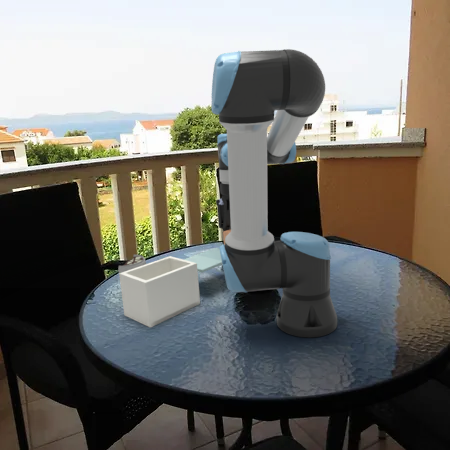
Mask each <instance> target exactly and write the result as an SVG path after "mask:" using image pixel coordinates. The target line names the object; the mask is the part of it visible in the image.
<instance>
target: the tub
mask: <svg viewBox="0 0 450 450" xmlns="http://www.w3.org/2000/svg"><path fill="white" fill-rule="evenodd" d="M118 276H119V283H120V290H121V291H120V292H121V297H122V298H121V299H122V300H121V301H122V304H123V305H122V306H123V315H124V316H125V317H127V318H129V319H132V320H133V321H136V322H138V323H140V324H142V325H144V326H146V327H148V328H153V327H155V326H156V325H159V324H161V323H163V322H165V321H168V320H169V319H171V318H174V317H176V316H177V315H180V314H182V313H184V312H186V311H188V310H191V309H192V308H194V307H197V306H199V305H201V298H200V297H201V296H200V285H199V271H198V270H197V263H194V262H190V261H187V260H184V258H180V257H179V258H178V257H175V256H171V255H169V256H166V257H164V258H160V259H158V260H155V261H151V262H148V263H146V264H145V265H143V266H140V267H137V268H134V269H131V270H128V271H125V272H122V273H119V272H118Z"/></svg>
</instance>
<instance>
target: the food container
mask: <svg viewBox="0 0 450 450" xmlns="http://www.w3.org/2000/svg"><path fill="white" fill-rule="evenodd" d="M145 264H147V261H146V258H145V257H144V256H143V255H142V254H133V257H132V258H131V259H130V260H127V261H126V262H125V263H124V264H123V265H118V267H117V268H118V269H117V270H118V274H119V273H122V272H125V271H128V270H131V269H134V268H137V267H140V266H143V265H145Z"/></svg>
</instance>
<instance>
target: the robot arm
mask: <svg viewBox="0 0 450 450" xmlns="http://www.w3.org/2000/svg"><path fill="white" fill-rule="evenodd" d="M213 66H214V67H213V73H212V85H211V113H213V114H214V115H218V121H219V122H218V123H219V124H220V125H221V126H222V127H223V128H224V129H225V130H226V133H220V134H219V135H217V144H216V146H217V154H218V166H219V167H218V168H219V169H218V171H219V173H218V174H219V182H220V184H219V187H220V190H219V191H220V194H221V195H222V196H221V198H219V199H216V200H215V203H216V207H217V220H218V228H219V229H222V230H223V232H224V231H227V230H230V229H231V232H230V233H229V234H228V235H227V236H226V238H225V245H224V244H222V245H219V247H218V248H219V249H220V254H221V259H222V269H223V274H224V279H225V284H226V287H227V289H228V291H230V292H232V293H248V292H257V291H268V290H269V291H270V290H280V289H282V294H281V295H282V296H281V299H280V303H279V304H278V305H279V306H278V308H277V312H276V325H277V328H279V329H280V331H282V332H284V333H286V334H287V335H291V336H295V337H297V338H298V337H299V338H318V337H319V338H320V337H323V336H327V335H329V334H331V333H333V332H334V331H335V330H336V329H337V327H338V315H337V312H336V309H335V306H334V304H333V301H332V300H333V299H332V298H331V259H332V257H331V249H330V242H329V241H328V240H327V239H326V238H325V237H324V236H321V235H319V234H314V233H311V232H303V231H288V232H284V233H282V234H281V235H280V240H275V238H274V237H275V236H274V235H273V233H271V232H270V231H269V230H268V227H269V226H268V213H269V212H268V165H285V164H290V163H293V162H295V160H296V156H297V145H296V141H297V139H298V137H299V135H300V133H301V131H302V130H303V128H304V126H305V124H306V122H307V121H308V119H309V118H310V117H312V116H313V115H314V114H315V113H316V112H318V110H319V109H320V107H321V105H322V103H323V102H324V99H325V95H326V81H325V77H324V74H323V72H322V69H321V68H320V66H319V65H318V63H317V62H316V61H315V60H314V59H313V58H312V57H310V56H309V55H308V54H307V53H304V52H302V51H300V50H296V49H290V48H288V49H287V48H286V49H280V50H279V49H276V50H275V49H274V50H253V51H252V50H250V51H240V50H238V51H233V52H232V51H231V52H227V53H222V54H219V55H218V56H217V57H216V58H215V62H214V65H213ZM275 113H276V114H275ZM270 126H271V127H270ZM269 127H270V129H269ZM268 129H269V132H268Z"/></svg>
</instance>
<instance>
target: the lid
mask: <svg viewBox="0 0 450 450" xmlns="http://www.w3.org/2000/svg"><path fill="white" fill-rule="evenodd" d="M230 232H231V229H229V230H227V231H224V230H223V231H222V233H223V234H222V235H223V245H225V238H226V236H227V235H228V234H229V233H230ZM183 260H187V261H190V262H194V263H197V270H198V273H205V272H208V271H210V270H212V269H215V268H217V267H219V266H221V265H222V266H223V264H222V259H221V254H220V249H219V247H213V248H212V249H208V250H205V251H203V252H201V253H198V254H194V255H192V256H190V257H187V258H183Z"/></svg>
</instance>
